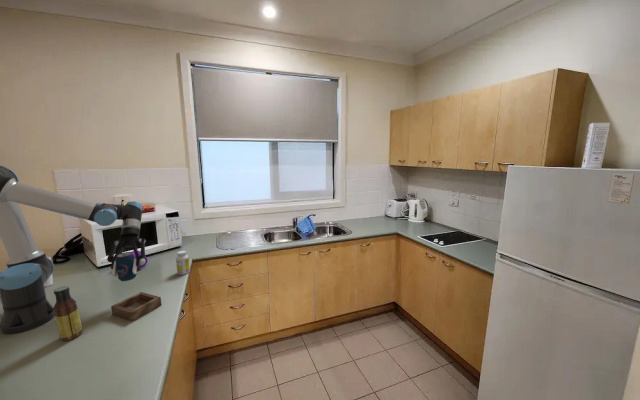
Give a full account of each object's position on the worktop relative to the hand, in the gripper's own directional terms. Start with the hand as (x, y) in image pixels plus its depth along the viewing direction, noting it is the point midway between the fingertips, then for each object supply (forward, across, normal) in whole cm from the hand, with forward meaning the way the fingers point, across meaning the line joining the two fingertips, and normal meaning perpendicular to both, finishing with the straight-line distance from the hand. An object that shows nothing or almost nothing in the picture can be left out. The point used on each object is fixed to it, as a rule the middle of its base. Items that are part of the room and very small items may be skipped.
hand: (124, 274), depth 116 cm
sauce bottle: (+23, +14, +2) cm, 27 cm away
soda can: (0, 0, -5) cm, 5 cm away
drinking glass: (-15, +47, -38) cm, 62 cm away
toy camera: (-22, +8, -45) cm, 51 cm away
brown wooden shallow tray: (+15, -5, -6) cm, 17 cm away
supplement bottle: (-9, -20, -32) cm, 39 cm away
